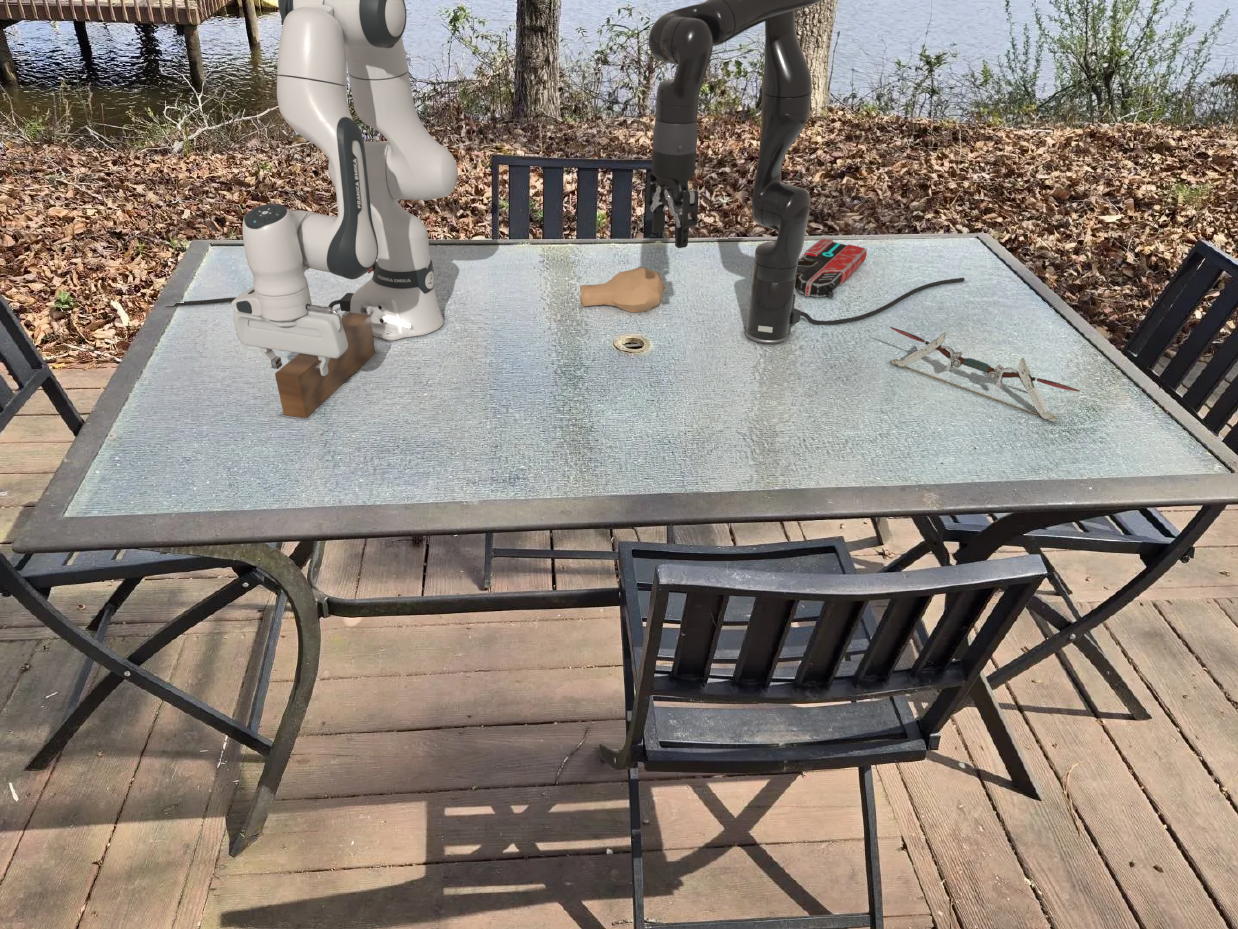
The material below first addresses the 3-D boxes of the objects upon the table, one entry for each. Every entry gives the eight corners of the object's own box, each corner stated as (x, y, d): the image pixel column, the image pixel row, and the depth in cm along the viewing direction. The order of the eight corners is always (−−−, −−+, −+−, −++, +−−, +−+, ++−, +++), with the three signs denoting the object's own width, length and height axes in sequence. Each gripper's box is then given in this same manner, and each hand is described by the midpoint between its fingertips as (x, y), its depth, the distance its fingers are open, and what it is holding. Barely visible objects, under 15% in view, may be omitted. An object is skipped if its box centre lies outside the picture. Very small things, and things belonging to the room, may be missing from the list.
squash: (667, 316, 202) (664, 283, 196) (581, 324, 204) (575, 291, 198) (665, 291, 210) (662, 258, 204) (583, 298, 212) (577, 266, 205)
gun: (756, 267, 217) (831, 286, 209) (802, 230, 239) (871, 246, 231) (754, 284, 219) (828, 303, 212) (800, 246, 241) (868, 263, 233)
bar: (306, 418, 161) (298, 376, 156) (283, 414, 162) (274, 373, 157) (375, 352, 183) (370, 314, 179) (355, 349, 184) (349, 312, 179)
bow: (1069, 424, 166) (1086, 377, 160) (1066, 427, 164) (1083, 380, 159) (885, 357, 187) (894, 314, 181) (880, 360, 186) (890, 317, 180)
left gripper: (347, 301, 153) (359, 370, 162) (243, 287, 157) (260, 355, 165) (329, 316, 148) (342, 386, 157) (222, 301, 152) (240, 371, 160)
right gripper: (715, 155, 145) (707, 249, 154) (673, 135, 156) (667, 224, 165) (676, 159, 143) (670, 255, 152) (635, 139, 153) (632, 230, 162)
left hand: (299, 370), depth 161 cm, fingers open, 8 cm apart
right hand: (669, 239), depth 158 cm, fingers open, 8 cm apart
